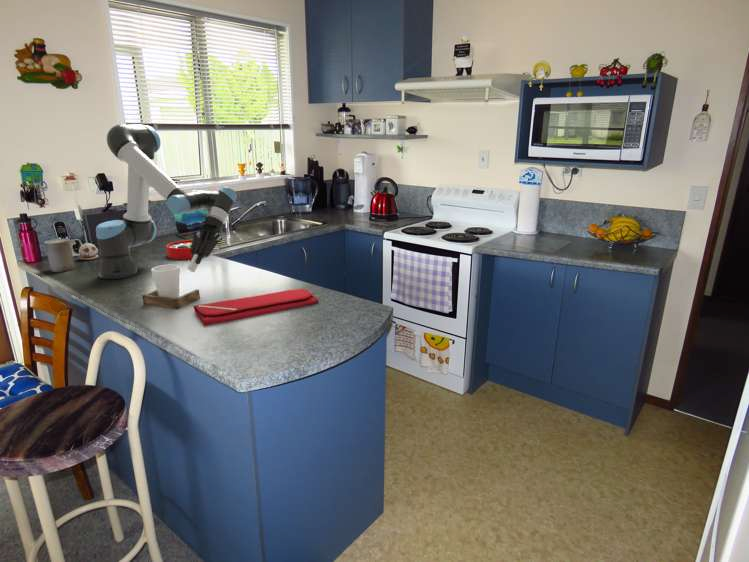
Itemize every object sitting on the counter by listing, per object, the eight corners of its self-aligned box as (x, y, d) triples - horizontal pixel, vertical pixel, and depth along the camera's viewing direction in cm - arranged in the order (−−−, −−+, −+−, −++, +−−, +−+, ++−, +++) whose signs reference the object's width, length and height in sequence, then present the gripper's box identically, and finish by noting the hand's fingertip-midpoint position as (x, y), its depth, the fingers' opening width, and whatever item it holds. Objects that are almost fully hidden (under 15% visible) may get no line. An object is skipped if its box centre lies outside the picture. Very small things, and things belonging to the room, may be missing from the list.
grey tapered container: (77, 265, 228) (71, 234, 224) (72, 271, 219) (65, 238, 215) (54, 267, 225) (47, 236, 221) (47, 273, 217) (40, 240, 212)
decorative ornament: (84, 261, 236) (78, 231, 232) (78, 259, 241) (72, 229, 237) (101, 258, 242) (95, 229, 237) (95, 256, 247) (89, 227, 242)
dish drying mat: (319, 304, 176) (318, 294, 175) (204, 328, 155) (203, 317, 154) (301, 293, 188) (301, 284, 187) (193, 313, 168) (192, 303, 167)
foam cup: (189, 299, 181) (184, 266, 177) (170, 307, 173) (165, 272, 169) (170, 296, 184) (165, 263, 180) (150, 303, 176) (145, 269, 172)
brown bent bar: (168, 294, 186) (166, 285, 185) (200, 298, 181) (199, 289, 180) (143, 304, 175) (142, 295, 174) (177, 309, 170) (175, 299, 169)
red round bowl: (203, 238, 260) (211, 245, 243) (204, 248, 261) (212, 256, 245) (163, 242, 250) (169, 250, 233) (165, 253, 252) (171, 261, 235)
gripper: (232, 227, 197) (209, 276, 187) (207, 224, 201) (183, 273, 191) (223, 216, 190) (198, 267, 181) (197, 214, 195) (171, 263, 185)
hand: (190, 270), depth 186 cm, fingers closed
